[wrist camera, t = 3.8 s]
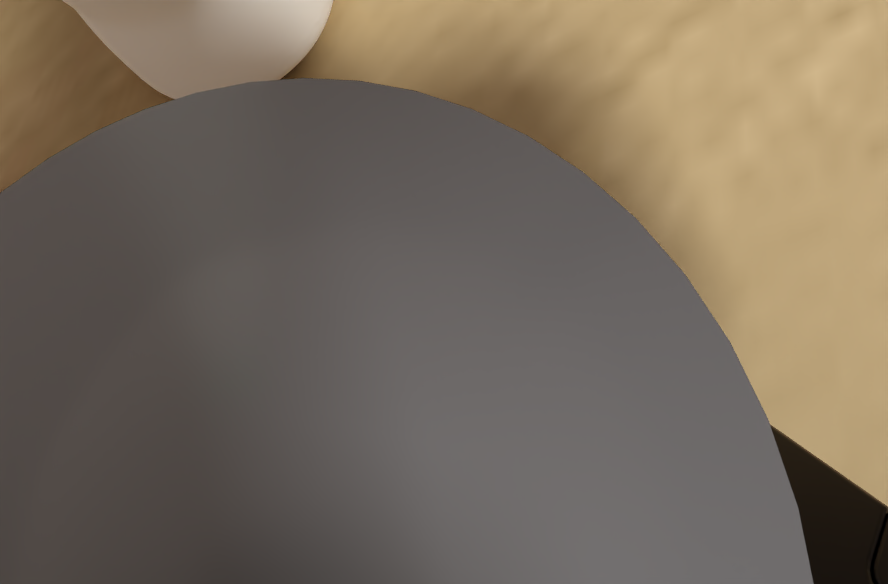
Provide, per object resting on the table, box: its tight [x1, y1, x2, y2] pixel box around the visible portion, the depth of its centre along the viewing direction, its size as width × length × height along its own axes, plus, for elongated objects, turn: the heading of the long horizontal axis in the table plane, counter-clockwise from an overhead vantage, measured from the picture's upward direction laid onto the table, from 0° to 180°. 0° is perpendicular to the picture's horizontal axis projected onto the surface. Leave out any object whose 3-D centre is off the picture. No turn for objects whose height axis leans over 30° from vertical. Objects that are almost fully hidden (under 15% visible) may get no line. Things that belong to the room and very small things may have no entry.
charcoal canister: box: [0, 78, 814, 584], centre depth 9 cm, size 5×5×12 cm
